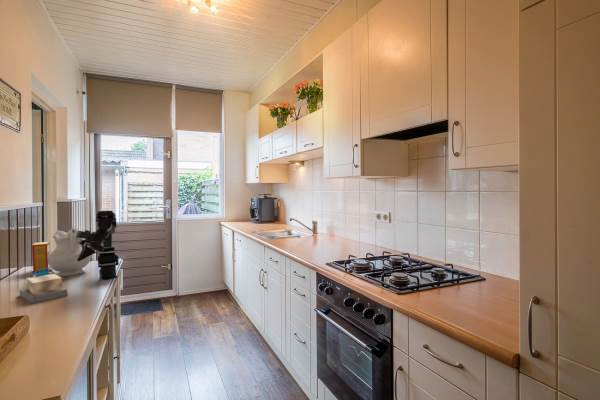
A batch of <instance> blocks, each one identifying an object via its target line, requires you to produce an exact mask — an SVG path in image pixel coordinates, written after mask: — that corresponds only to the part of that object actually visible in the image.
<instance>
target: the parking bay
mask: <svg viewBox="0 0 600 400" xmlns="http://www.w3.org/2000/svg"><path fill="white" fill-rule="evenodd" d="M18 292H19V297H20V298H23V299H24V300H25V301H28V303H30V304H31V303H33V304H37V303H40V301H41V302H43V301H44V302H45V301H49V300H53V299H57V298H62V297H66V296H68V289H67V288H64V289H62V290H59V291H55V292H50V293H46V294H41V295H37V296H34V295H33V294H31V293H30V292H28V291H27V287H25V288H22V289H19V291H18Z"/></svg>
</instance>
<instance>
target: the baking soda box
mask: <svg viewBox="0 0 600 400" xmlns="http://www.w3.org/2000/svg"><path fill="white" fill-rule="evenodd" d="M50 244H51V243H50V241H41V242H40V241H38V242H34V243H33V244H31V251H32V253H31V254H32V270H33V271H32V273H33V272H35V271H36V272H37V274H38V273H39V269H42V271H41V272H43V271H44V269H45V268H48V270H47V271H49V270H50V269H52V268H51V267H50V266H49V264H48V255H49V254H50V253H51V245H50ZM47 271H45V272H47Z"/></svg>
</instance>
